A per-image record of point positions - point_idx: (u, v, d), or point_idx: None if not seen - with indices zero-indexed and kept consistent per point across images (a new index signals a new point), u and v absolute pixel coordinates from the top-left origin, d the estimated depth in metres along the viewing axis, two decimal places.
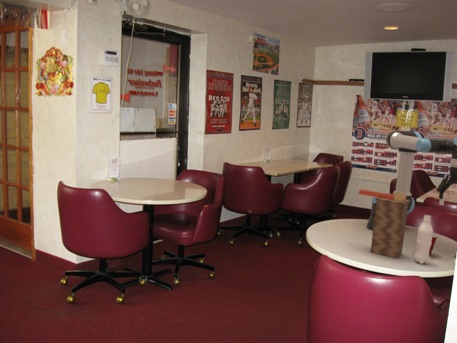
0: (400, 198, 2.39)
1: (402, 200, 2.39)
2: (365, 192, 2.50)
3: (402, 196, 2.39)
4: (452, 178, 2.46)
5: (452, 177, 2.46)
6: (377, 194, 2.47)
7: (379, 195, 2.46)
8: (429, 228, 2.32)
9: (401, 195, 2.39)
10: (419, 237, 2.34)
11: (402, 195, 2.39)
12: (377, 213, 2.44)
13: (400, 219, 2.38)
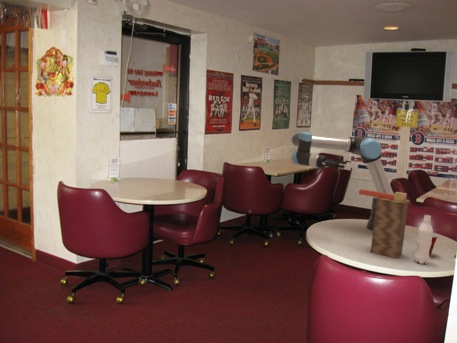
0: (400, 198, 2.39)
1: (402, 200, 2.39)
2: (365, 192, 2.50)
3: (402, 196, 2.39)
4: None
5: None
6: (377, 194, 2.47)
7: (379, 195, 2.46)
8: (429, 228, 2.32)
9: (401, 195, 2.39)
10: (419, 237, 2.34)
11: (402, 195, 2.39)
12: (377, 213, 2.44)
13: (400, 219, 2.38)
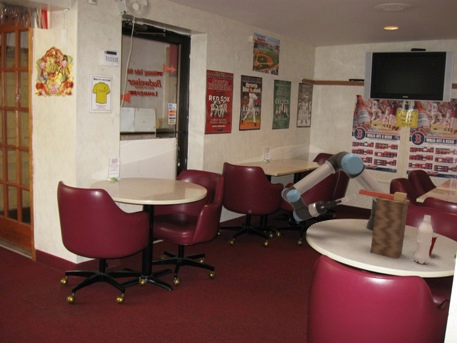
0: (400, 198, 2.39)
1: (402, 200, 2.39)
2: (365, 192, 2.50)
3: (402, 196, 2.39)
4: None
5: None
6: (377, 194, 2.47)
7: (379, 195, 2.46)
8: (429, 228, 2.32)
9: (401, 195, 2.39)
10: (419, 237, 2.34)
11: (402, 195, 2.39)
12: (377, 213, 2.44)
13: (400, 219, 2.38)
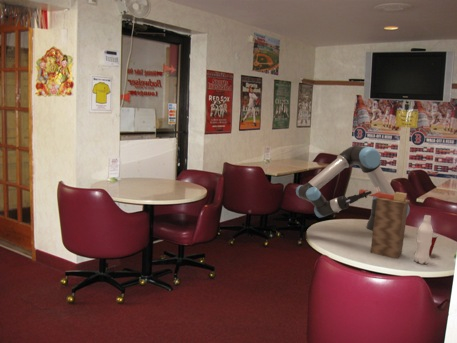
0: (400, 198, 2.39)
1: (402, 200, 2.39)
2: None
3: (402, 196, 2.39)
4: None
5: None
6: (377, 194, 2.47)
7: (379, 195, 2.46)
8: (429, 228, 2.32)
9: (401, 195, 2.39)
10: (419, 237, 2.34)
11: (402, 195, 2.39)
12: (377, 213, 2.44)
13: (400, 219, 2.38)
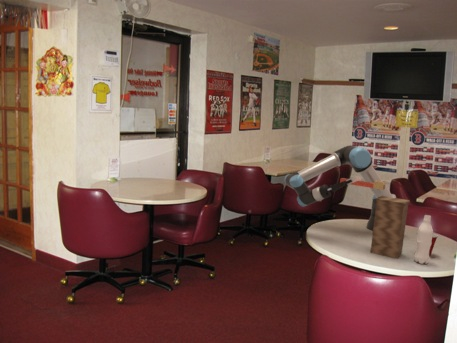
0: (379, 186, 2.45)
1: (381, 188, 2.44)
2: None
3: (381, 184, 2.44)
4: None
5: None
6: (357, 182, 2.52)
7: (359, 183, 2.52)
8: (429, 228, 2.32)
9: (380, 183, 2.44)
10: (419, 237, 2.34)
11: (381, 183, 2.44)
12: (377, 213, 2.44)
13: (400, 219, 2.38)
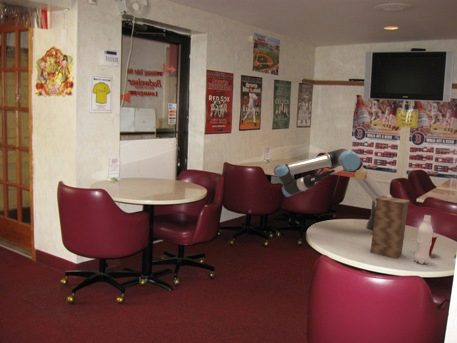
0: (361, 176, 2.50)
1: (363, 177, 2.50)
2: None
3: (362, 174, 2.49)
4: None
5: None
6: (340, 172, 2.57)
7: (342, 173, 2.57)
8: (429, 228, 2.32)
9: (362, 173, 2.50)
10: (419, 237, 2.34)
11: (362, 173, 2.49)
12: (377, 213, 2.44)
13: (400, 219, 2.38)
